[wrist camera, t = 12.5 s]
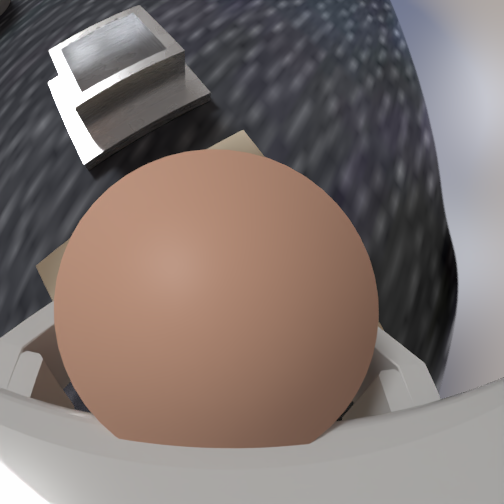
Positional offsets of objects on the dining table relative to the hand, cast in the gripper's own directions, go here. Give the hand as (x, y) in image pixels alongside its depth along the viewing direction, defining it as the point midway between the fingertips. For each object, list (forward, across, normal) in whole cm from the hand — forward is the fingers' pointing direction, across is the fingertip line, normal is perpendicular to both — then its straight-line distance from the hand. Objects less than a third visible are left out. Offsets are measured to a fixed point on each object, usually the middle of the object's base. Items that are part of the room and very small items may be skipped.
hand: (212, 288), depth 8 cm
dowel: (+5, 0, -5) cm, 7 cm away
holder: (+17, -8, +4) cm, 19 cm away
